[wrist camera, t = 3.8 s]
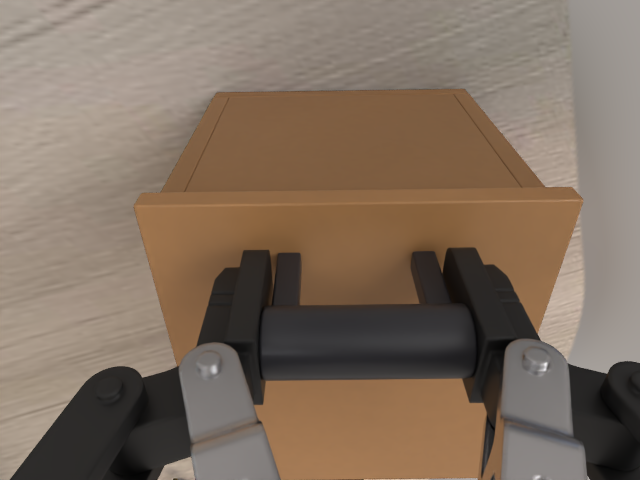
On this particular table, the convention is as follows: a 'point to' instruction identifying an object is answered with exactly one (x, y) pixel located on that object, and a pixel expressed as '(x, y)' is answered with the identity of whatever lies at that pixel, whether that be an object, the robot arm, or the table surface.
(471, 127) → the tan open box
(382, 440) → the package lid
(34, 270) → the table surface
